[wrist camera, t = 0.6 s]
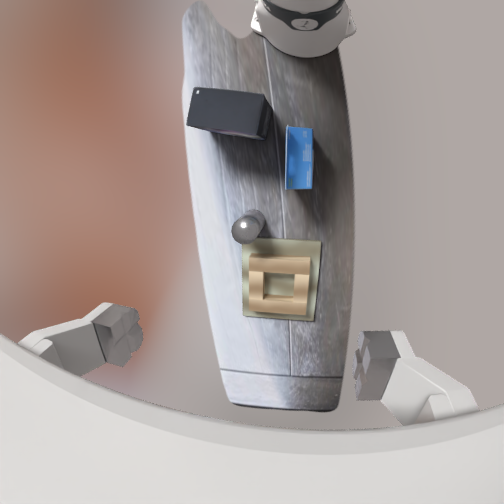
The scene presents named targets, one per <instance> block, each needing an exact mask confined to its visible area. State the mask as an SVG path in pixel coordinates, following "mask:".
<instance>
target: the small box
mask: <svg viewBox="0 0 504 504" xmlns="http://www.w3.org/2000/svg"><path fill="white" fill-rule="evenodd" d="M271 113H272V107H271V106H270V104H269V103H268V101H267V100H266V98H265V96H264V94H259V93H252V92H244V91H237V90H228V89H217V88H204V87H194V88H193V93H192V98H191V102H190V107H189V112H188V118H187V123H186V125H187V126H191V127H195V128H199V129H202V130H206V131H210V132H215V133H221V134H227V135H233V136H240V137H246V138H252V139H259V140H266V136H267V132H268V127H269V122H270V117H271Z"/></svg>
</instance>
